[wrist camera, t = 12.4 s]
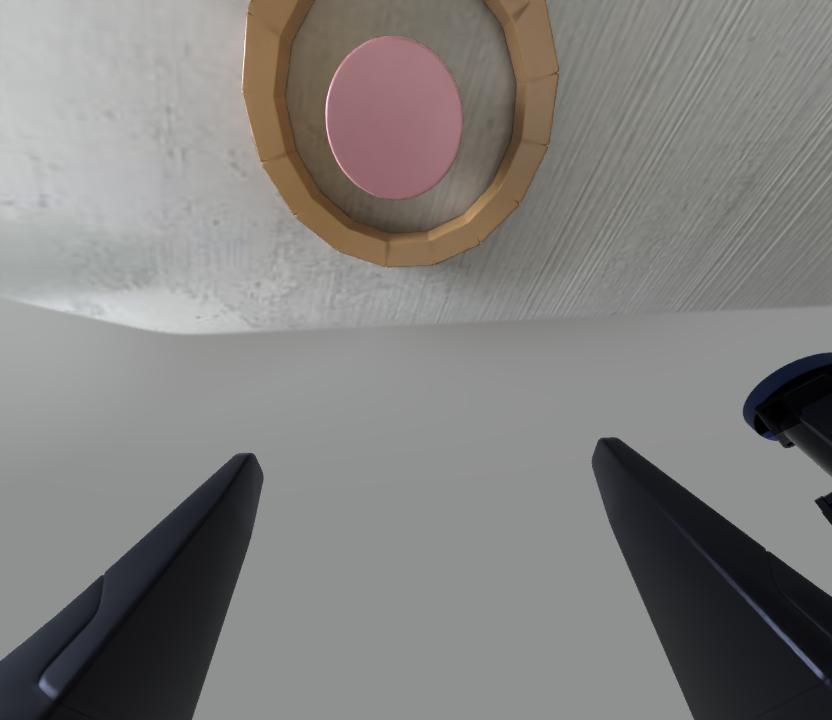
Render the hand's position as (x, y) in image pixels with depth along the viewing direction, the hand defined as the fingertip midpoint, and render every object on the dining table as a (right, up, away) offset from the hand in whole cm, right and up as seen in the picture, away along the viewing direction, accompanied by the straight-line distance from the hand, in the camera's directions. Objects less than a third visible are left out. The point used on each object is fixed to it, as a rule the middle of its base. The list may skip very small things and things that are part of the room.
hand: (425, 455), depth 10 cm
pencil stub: (-1, +13, +6) cm, 14 cm away
